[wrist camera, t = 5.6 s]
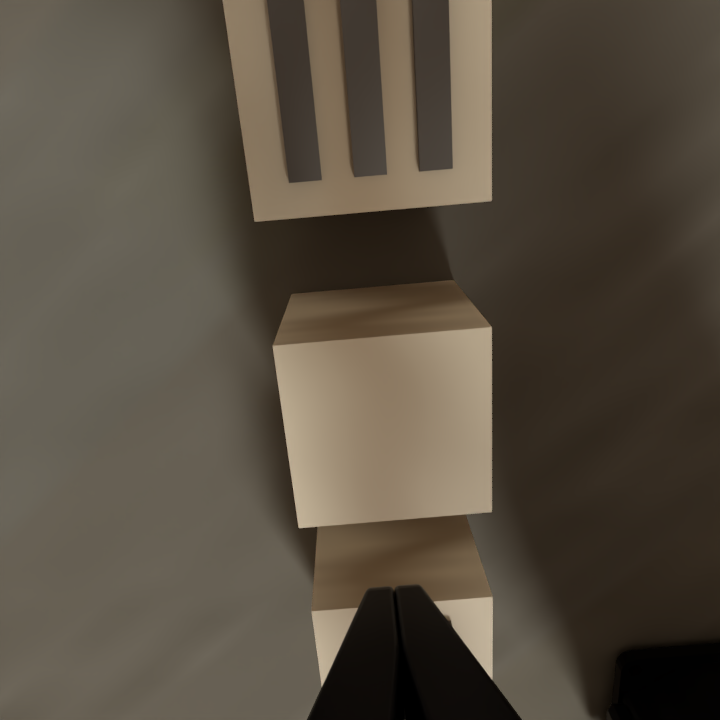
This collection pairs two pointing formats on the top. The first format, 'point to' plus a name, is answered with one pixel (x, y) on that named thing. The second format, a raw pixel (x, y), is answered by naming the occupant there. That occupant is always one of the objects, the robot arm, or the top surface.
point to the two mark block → (401, 578)
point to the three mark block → (362, 103)
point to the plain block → (386, 403)
